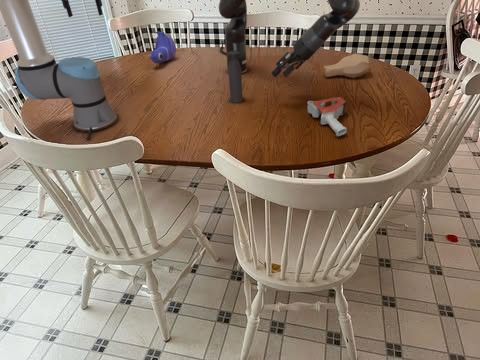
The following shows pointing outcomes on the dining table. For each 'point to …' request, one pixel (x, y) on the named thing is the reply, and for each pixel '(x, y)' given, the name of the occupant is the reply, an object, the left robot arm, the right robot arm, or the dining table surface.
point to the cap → (233, 55)
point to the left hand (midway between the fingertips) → (85, 15)
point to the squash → (349, 66)
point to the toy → (163, 48)
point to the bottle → (235, 81)
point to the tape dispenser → (329, 113)
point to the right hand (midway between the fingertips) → (278, 75)
